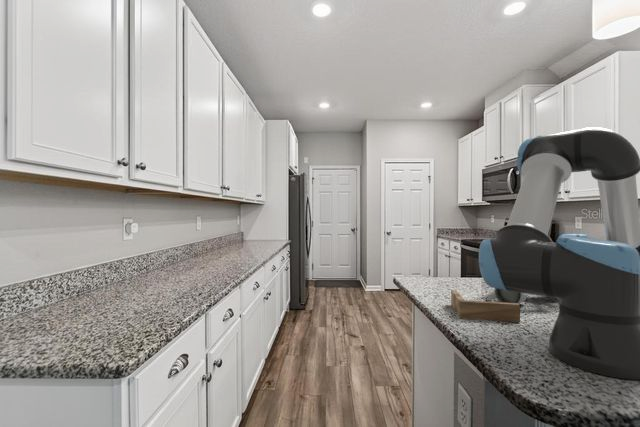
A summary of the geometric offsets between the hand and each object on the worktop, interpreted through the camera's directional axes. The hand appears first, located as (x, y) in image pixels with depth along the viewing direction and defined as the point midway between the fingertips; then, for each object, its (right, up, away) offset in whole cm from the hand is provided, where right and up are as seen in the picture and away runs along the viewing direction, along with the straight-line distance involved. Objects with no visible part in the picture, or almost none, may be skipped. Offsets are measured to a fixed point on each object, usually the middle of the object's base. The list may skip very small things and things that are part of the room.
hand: (503, 285), depth 95 cm
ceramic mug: (+1, -6, 0) cm, 6 cm away
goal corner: (-11, -6, -7) cm, 14 cm away
